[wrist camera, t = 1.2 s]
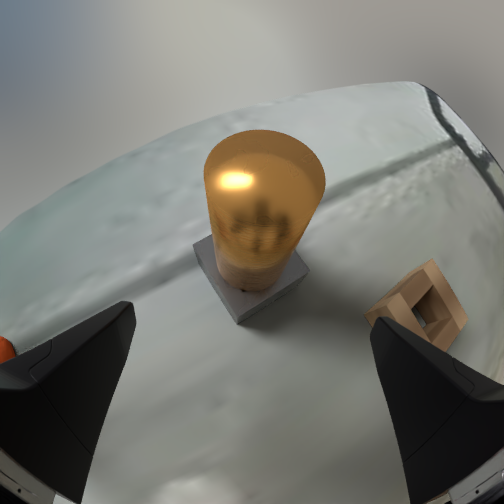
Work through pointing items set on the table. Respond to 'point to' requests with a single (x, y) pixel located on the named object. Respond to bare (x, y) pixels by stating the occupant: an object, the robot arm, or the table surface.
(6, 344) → the toy drill
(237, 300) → the block
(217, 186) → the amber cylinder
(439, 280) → the wooden square ring
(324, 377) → the table surface
